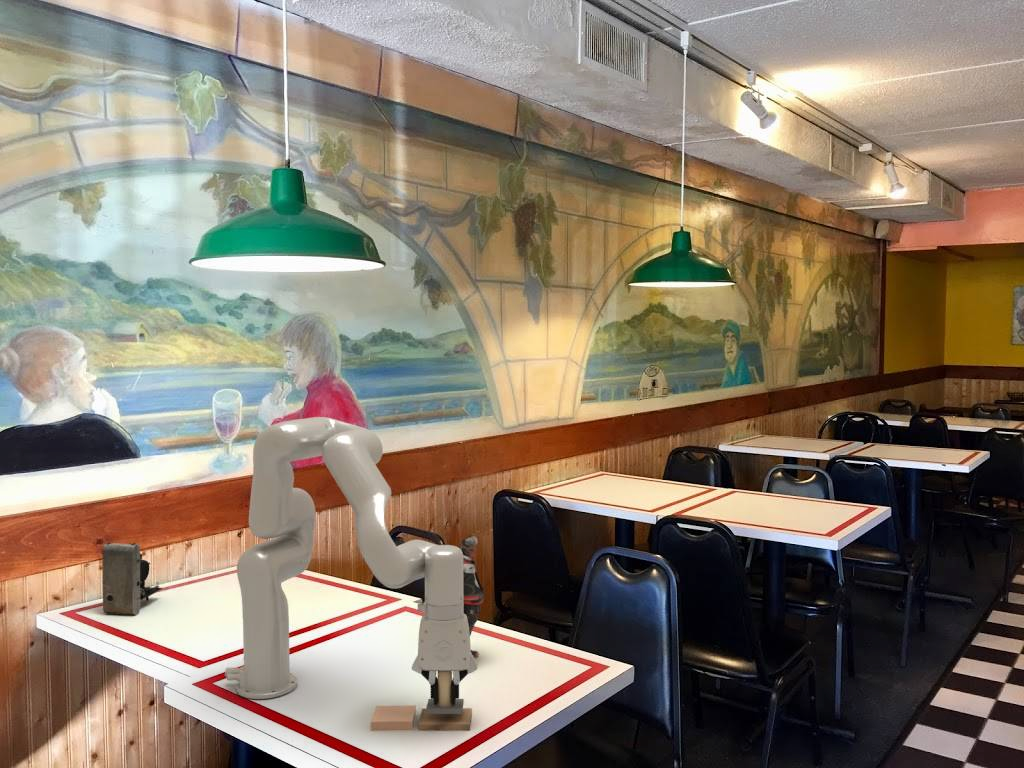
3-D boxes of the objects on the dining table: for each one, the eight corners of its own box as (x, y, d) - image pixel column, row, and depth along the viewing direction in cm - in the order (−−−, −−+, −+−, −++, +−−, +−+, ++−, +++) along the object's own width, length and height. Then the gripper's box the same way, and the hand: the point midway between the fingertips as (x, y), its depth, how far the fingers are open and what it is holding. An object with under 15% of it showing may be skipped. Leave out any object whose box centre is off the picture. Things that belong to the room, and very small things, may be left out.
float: (425, 713, 162) (425, 674, 162) (428, 702, 167) (428, 664, 167) (461, 713, 162) (461, 674, 162) (463, 702, 167) (463, 664, 167)
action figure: (463, 675, 187) (463, 543, 186) (432, 661, 195) (431, 535, 194) (497, 662, 195) (496, 535, 193) (465, 650, 203) (464, 527, 201)
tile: (370, 721, 161) (412, 721, 161) (376, 705, 168) (416, 705, 168) (371, 732, 161) (412, 732, 161) (376, 716, 168) (416, 715, 168)
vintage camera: (165, 601, 243) (163, 533, 243) (134, 616, 228) (132, 544, 227) (134, 600, 244) (133, 532, 244) (101, 616, 229) (99, 543, 229)
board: (418, 730, 161) (418, 724, 161) (422, 714, 168) (421, 708, 168) (469, 730, 161) (469, 724, 161) (471, 714, 168) (471, 708, 168)
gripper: (400, 616, 160) (401, 710, 161) (485, 616, 160) (485, 710, 161) (405, 603, 167) (406, 693, 168) (486, 603, 167) (486, 693, 168)
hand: (444, 700), depth 164 cm, fingers closed on float, 2 cm apart
